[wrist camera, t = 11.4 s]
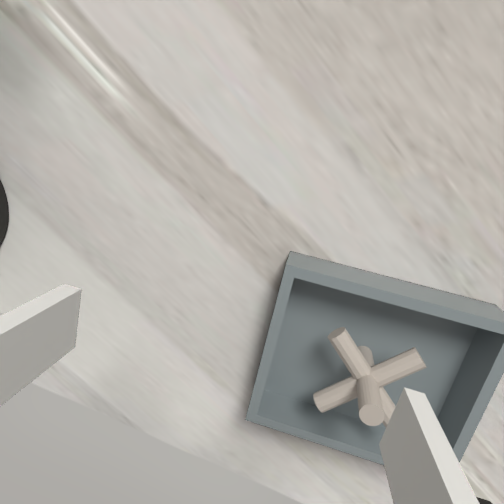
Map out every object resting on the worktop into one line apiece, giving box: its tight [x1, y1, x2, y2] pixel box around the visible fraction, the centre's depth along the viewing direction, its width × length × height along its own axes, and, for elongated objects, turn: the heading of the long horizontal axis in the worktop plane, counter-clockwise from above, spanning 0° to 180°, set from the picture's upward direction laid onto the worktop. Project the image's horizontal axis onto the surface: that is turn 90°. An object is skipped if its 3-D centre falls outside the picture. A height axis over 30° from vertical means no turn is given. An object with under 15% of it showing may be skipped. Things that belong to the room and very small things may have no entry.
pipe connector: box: [313, 327, 427, 427], centre depth 31 cm, size 10×10×10 cm
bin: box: [245, 251, 504, 465], centre depth 34 cm, size 20×17×5 cm
